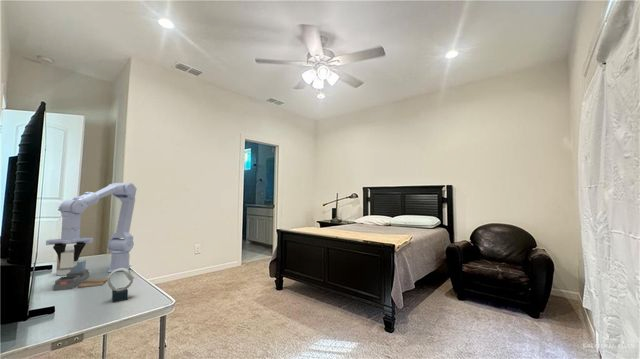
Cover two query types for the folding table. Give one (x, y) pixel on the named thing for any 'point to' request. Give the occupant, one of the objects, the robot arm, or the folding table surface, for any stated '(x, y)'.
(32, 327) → the folding table surface
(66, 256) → the block
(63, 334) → the folding table surface
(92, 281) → the walnut board
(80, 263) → the blue charger
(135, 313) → the folding table surface
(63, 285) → the power strip
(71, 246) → the bath foam
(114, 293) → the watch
